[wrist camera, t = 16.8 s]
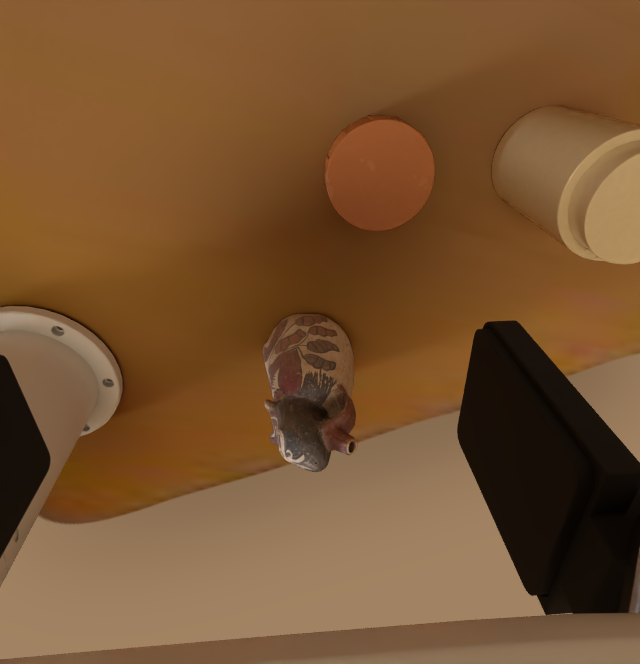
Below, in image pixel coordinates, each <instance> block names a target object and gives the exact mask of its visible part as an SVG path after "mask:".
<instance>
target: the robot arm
mask: <svg viewBox="0 0 640 664" xmlns="http://www.w3.org/2000/svg"><path fill="white" fill-rule="evenodd" d="M122 391H123V388H122V376H121V372H120V368H119V366H118V364H117V362H116V360H115V358H114V356H113V355H112V353H111V352H110V351H109V349H108V348H107V347H106V345H105V344H104V343H103V342H102V341H101V340H100V339H99V338H97V337H96V336H95V335H94V334H93V333H92V332H91V331H89V330H88V329H86V328H85V327H83V326H82V325H80V324H79V323H77V322H75V321H73V320H71V319H69V318H67V317H65V316H63V315H60V314H57V313H54V312H51V311H48V310H44V309H39V308H33V307H28V306H6V307H0V586H1V584H2V582H3V581H4V579H5V577H6V575H7V573H8V571H9V570H10V567H11V566H12V564H13V562H14V560H15V558H16V556H17V554H18V552H19V550H20V549H21V547H22V545H23V543H24V541H25V539H26V537H27V535H28V533H29V531H30V529H31V528H32V526H33V524H34V522H35V520H36V518H37V516H38V514H39V512H40V511H41V509H42V507H43V505H44V503H45V501H46V499H47V497H48V495H49V493H50V492H51V490H52V488H53V486H54V484H55V482H56V480H57V478H58V476H59V474H60V473H61V471H62V469H63V467H64V465H65V463H66V461H67V459H68V457H69V455H70V454H71V452H72V450H73V448H74V446H75V444H76V442H77V440H78V438H79V437H80V436H83V435H86V434H89V433H91V432H93V431H95V430H97V429H99V428H100V427H101V426H103V425H104V424H105V423H106V422H108V420H109V419H110V418H111V416H112V415H113V414H114V412H115V410H116V408H117V406H118V404H119V402H120V399H121V395H122ZM457 429H458V430H457V433H458V439H459V443H460V446H461V448H462V450H463V452H464V454H465V457H466V459H467V461H468V463H469V466H470V468H471V470H472V472H473V474H474V476H475V479H476V481H477V483H478V485H479V488H480V490H481V492H482V494H483V497H484V499H485V501H486V503H487V505H488V508H489V510H490V512H491V514H492V517H493V519H494V521H495V523H496V526H497V528H498V530H499V532H500V534H501V536H502V539H503V541H504V543H505V546H506V548H507V550H508V552H509V554H510V557H511V559H512V561H513V563H514V566H515V568H516V570H517V572H518V574H519V576H520V579H521V581H522V583H523V585H524V587H525V589H526V591H527V592H528V593H529V594H530V595H532V596H533V595H537V597H538V599H539V601H540V603H541V605H542V608H543V610H544V612H545V614H546V616H531V617H515V618H498V619H481V620H465V621H453V622H440V623H428V624H415V625H403V626H390V627H379V628H365V629H353V630H341V631H329V632H315V633H303V634H291V635H280V636H267V637H255V638H244V639H231V640H220V641H208V642H196V643H184V644H174V645H161V646H150V647H138V648H127V649H116V650H103V651H91V652H80V653H68V654H57V655H47V656H37V657H24V658H13V659H2V660H0V664H640V462H639V461H638V460H637V459H636V458H635V457H634V456H633V454H632V453H631V452H630V451H629V450H628V449H627V447H626V446H625V445H624V444H623V443H622V442H621V440H620V439H619V438H618V437H617V436H616V435H615V434H614V433H613V431H612V430H611V429H610V428H609V427H608V425H607V424H606V423H605V422H604V421H603V420H602V418H601V417H599V415H598V414H597V413H596V412H595V410H594V409H593V408H592V407H591V406H590V405H589V403H587V401H586V400H585V399H584V398H583V397H582V395H581V394H580V393H579V392H578V391H577V390H576V388H575V387H574V386H573V385H572V384H571V383H570V382H569V380H568V379H567V378H566V377H565V376H564V374H563V373H562V372H561V371H560V370H559V369H558V368H557V366H556V365H555V364H554V363H553V362H552V361H551V359H550V358H549V357H548V356H547V355H546V354H545V352H544V351H543V350H542V349H541V348H540V347H539V346H538V344H537V343H536V342H535V341H534V340H533V339H532V337H531V336H530V335H529V334H528V333H527V332H526V330H525V329H524V328H523V327H522V326H521V325H520V324H519V323H518V322H517V321H494V322H487V323H485V325H484V326H483V329H478V330H476V332H475V335H474V340H473V345H472V351H471V356H470V362H469V367H468V372H467V378H466V383H465V389H464V394H463V400H462V405H461V411H460V416H459V422H458V428H457ZM561 613H562V615H551V614H561ZM563 613H573V614H563Z"/></svg>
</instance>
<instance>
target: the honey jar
mask: <svg viewBox="0 0 640 664" xmlns="http://www.w3.org/2000/svg"><path fill="white" fill-rule="evenodd" d="M492 181H493V185H494V188H495V190H496V192H497V193H498V195H499V196H500V198H501V199H502V200H503V201H504V202H506V203H507V204H508V205H510V206H511V207H512V208H514V209H515V210H516V211H518V212H519V213H520V214H522V215H523V216H524V217H526V218H527V219H528V220H530V221H531V222H533V223H534V224H535V225H537V226H538V227H539V228H541V229H542V230H543V231H545V232H546V233H547V234H549V235H550V236H551V237H553V238H554V239H556V240H557V241H558V242H560V243H561V244H562V245H564V246H565V247H566V248H568V249H569V250H570V251H572V252H573V253H575V254H576V255H578V256H580V257H583V258H585V259H590V260H597V261H607V262H609V263H614V264H632V263H637V262H640V124H636V123H631V122H627V121H623V120H619V119H614V118H610V117H606V116H602V115H598V114H593V113H589V112H585V111H581V110H576V109H572V108H568V107H564V106H546V107H541V108H538V109H536V110H533V111H531V112H529V113H527V114H526V115H524V116H523V117H521V118H520V119H519V120H517V121H516V122H515V123H514V124H513V125H512V126H511V127H510V128H509V129H508V130H507V132H506V133H505V134H504V136H503V137H502V139H501V140H500V142H499V144H498V146H497V148H496V151H495V153H494V157H493V161H492Z"/></svg>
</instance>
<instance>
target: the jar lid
mask: <svg viewBox="0 0 640 664" xmlns="http://www.w3.org/2000/svg"><path fill="white" fill-rule="evenodd" d="M424 138H425V137H424V136H423V135H421V134H420V133H419V132H418V131H417V130H416V129H414V128H413V127H411V126H410V125H408V124H407V123H405V122H404V121H402V120H401V119H400V118H399V117H396V118H395V117H391V116H385V115H375V116H370V115H368V117H366V118H362V119H360V120H358V121H356V122H354V123H352V124H351V125H349V126H348V127H347V128H346V129H344V130H342V132H341V133H340V134H339V136H338V137H337V138H336V140H335V141H334V142H333V144H332V146H331V148H330V150H329V153H328V155H326V157H327V159H326V164H325V181H326V183H325V187H326V190H328V193H329V197H330V200H331V202H332V204H333V206H334V208H335V209H336V211H337V212H338V214H339V215H340V216H341V217H342V218H343V219H344V220H346V221H347V222H349V223H350V224H352V225H354V226H356V227H358V228H361V229H365V230H370V231H383V230H389V229H392V228H395V227H398V226H400V225H402V224H404V223H405V222H407V221H408V220H410V219H411V218H413V217H414V216H415V215H416V214H417V213H418V212H419V211H420V209H421V208H422V207H423V206H424V204H425V203H426V201H427V199H428V197H429V195H430V193H431V190H432V187H433V183H434V177H435V164H434V158H433V154H432V151H431V149H430V147H429V145H428V143H427V141H426V140H425V139H424Z"/></svg>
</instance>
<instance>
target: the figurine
mask: <svg viewBox="0 0 640 664" xmlns="http://www.w3.org/2000/svg"><path fill="white" fill-rule="evenodd" d="M263 354H264V362H265V366H266V370H267V374H268V379H269V382H270V387H271V391H272V395H273V398H274V401H270V400H265V407H266V409H267V410H268V412H269V413H270V416H271V419H272V423H273V432H272V433H271V435H270V440H271V442H272V443H274V444H275V445H277V446H278V447H279V451H280V453H281V455H282V456H283V458H284V459H286V460H287V461H288V462H290V463H292V464H294V465H296V466H298V467H300V468H303V469H305V470H308V471H312V472H319V471H322V470H323V469H324V468H326V467H327V465H328V462H329V458H330V454H331V450H333V449H334V450H337V451H339V452H342V453H345V454H347V455H351V454H353V453H355V451H356V450H357V447H358V445H357V441H356V440H355V438H354V437H352V436H351V435H349V433H350V431H351V430H352V428H353V427H354V425H355V418H356V413H355V408H354V405H353V402H352V400H351V394H352V389H353V385H354V354H353V351H352V347H351V344H350V341H349V339H348V337H347V335H346V334H345V332H344V331H343V330H342V328H341V327H340V326H339V325H338V324H336V323H335V322H333V321H332V320H330V319H329V318H327V317H325V316H323V315H320V314H295V315H291V316H288V317H286V318H284V319H282V320H281V321H280V322H279V324H278V325H277V326H276V327H275V328H274V329H273V331H272V333H271V335H270V337H269V340H268V341H267V343H265V344H264V348H263Z"/></svg>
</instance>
